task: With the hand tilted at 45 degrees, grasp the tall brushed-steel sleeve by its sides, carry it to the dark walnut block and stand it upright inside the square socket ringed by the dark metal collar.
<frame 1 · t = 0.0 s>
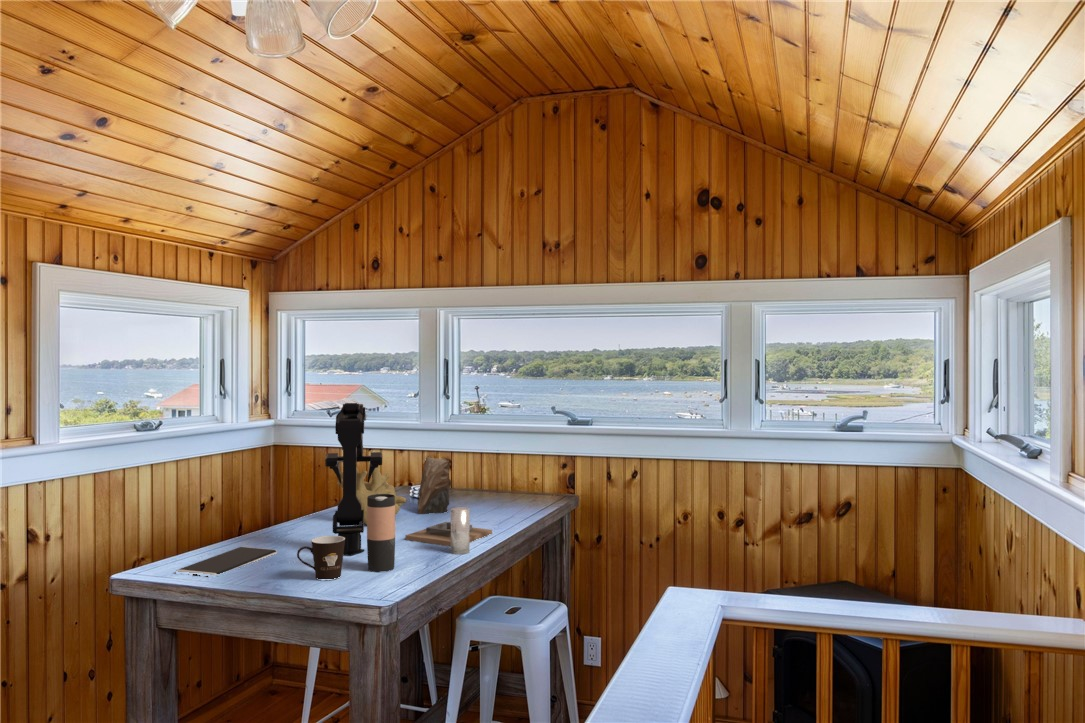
hand: (354, 482, 263), 15 cm above the table, tool pointing down, fingers open, 9 cm apart
decorative coral: (374, 520, 276), on the table
steel sleeve: (460, 552, 230), on the table
brown carved rock: (430, 511, 292), on the table
coffee mug: (322, 578, 203), on the table
travel mug: (381, 569, 212), on the table
dark rectangular slab: (228, 565, 217), on the table
pillow block: (449, 537, 249), on the table
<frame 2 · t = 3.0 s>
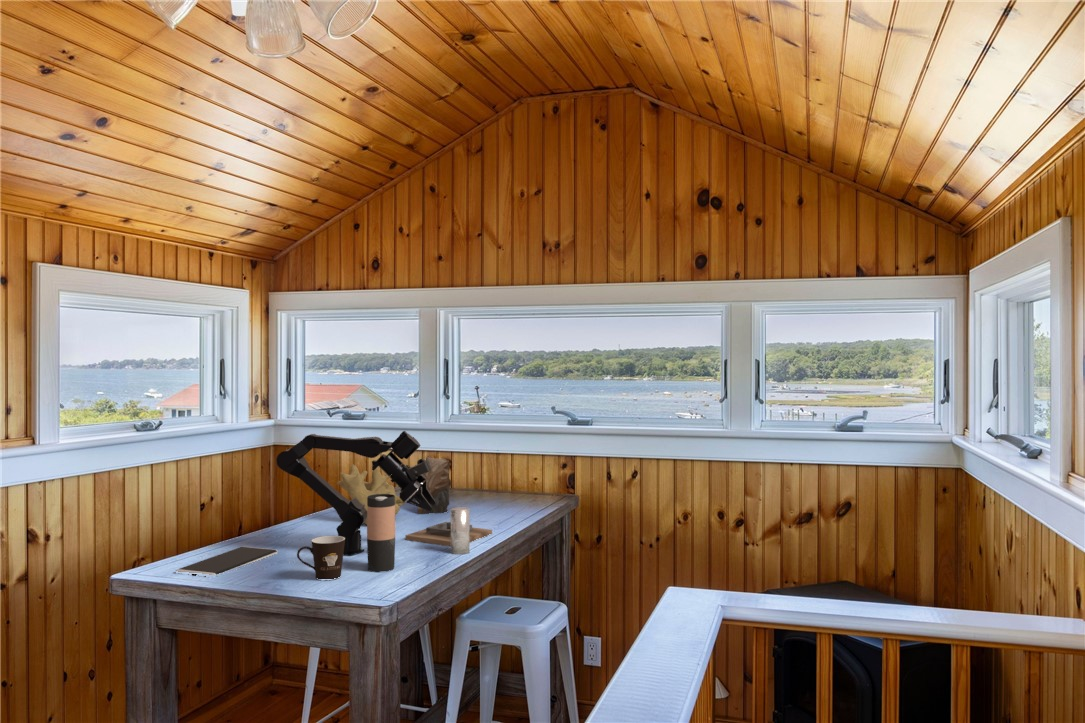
hand: (433, 506, 230), 14 cm above the table, tool tilted 45°, fingers open, 9 cm apart
nothing on the table moved.
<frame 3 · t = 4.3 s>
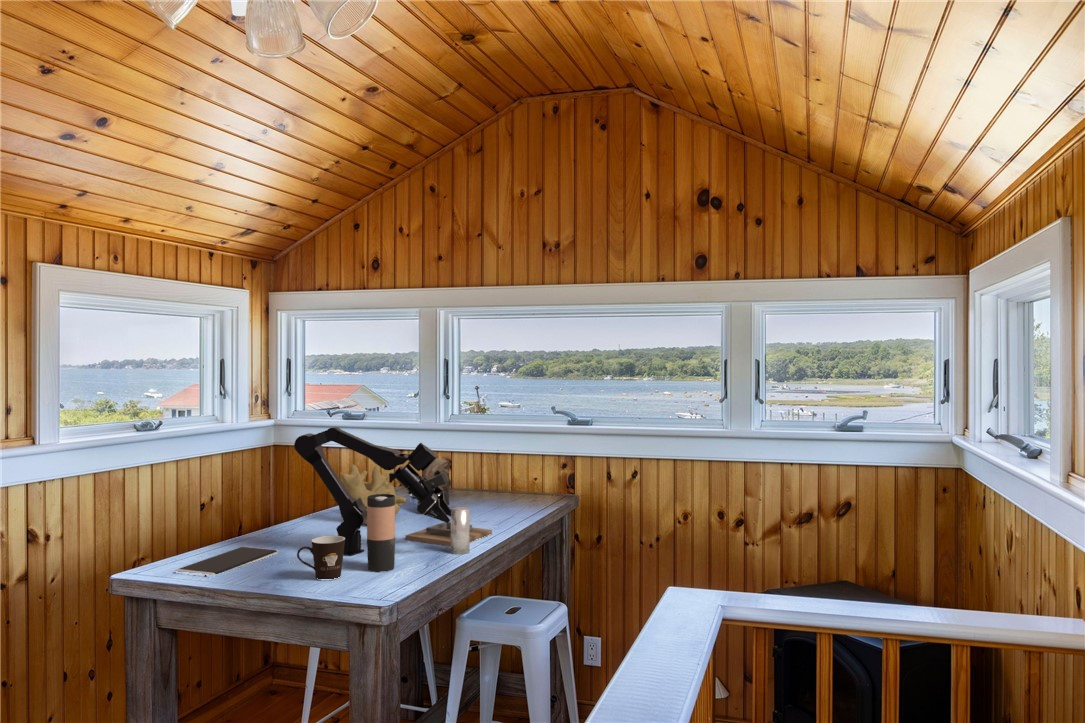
hand: (450, 518, 230), 10 cm above the table, tool tilted 45°, fingers open, 9 cm apart
nothing on the table moved.
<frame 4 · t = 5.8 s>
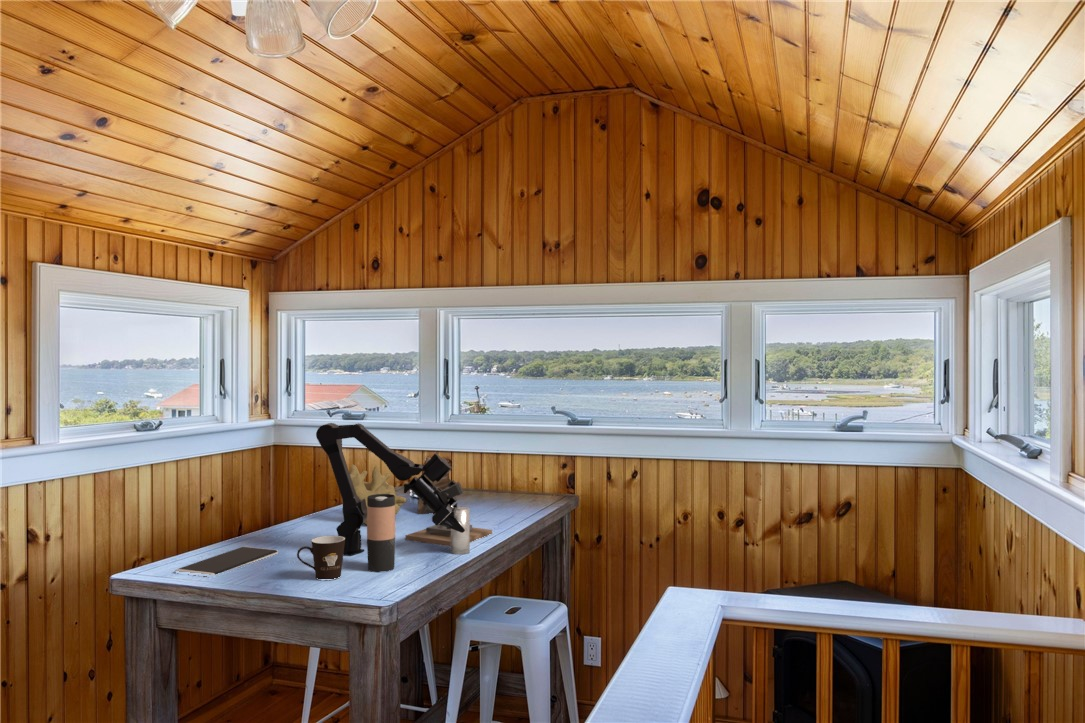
hand: (464, 529, 230), 7 cm above the table, tool tilted 45°, fingers closed on steel sleeve, 6 cm apart
steel sleeve: (460, 552, 230), on the table, touching gripper
everything else where it was.
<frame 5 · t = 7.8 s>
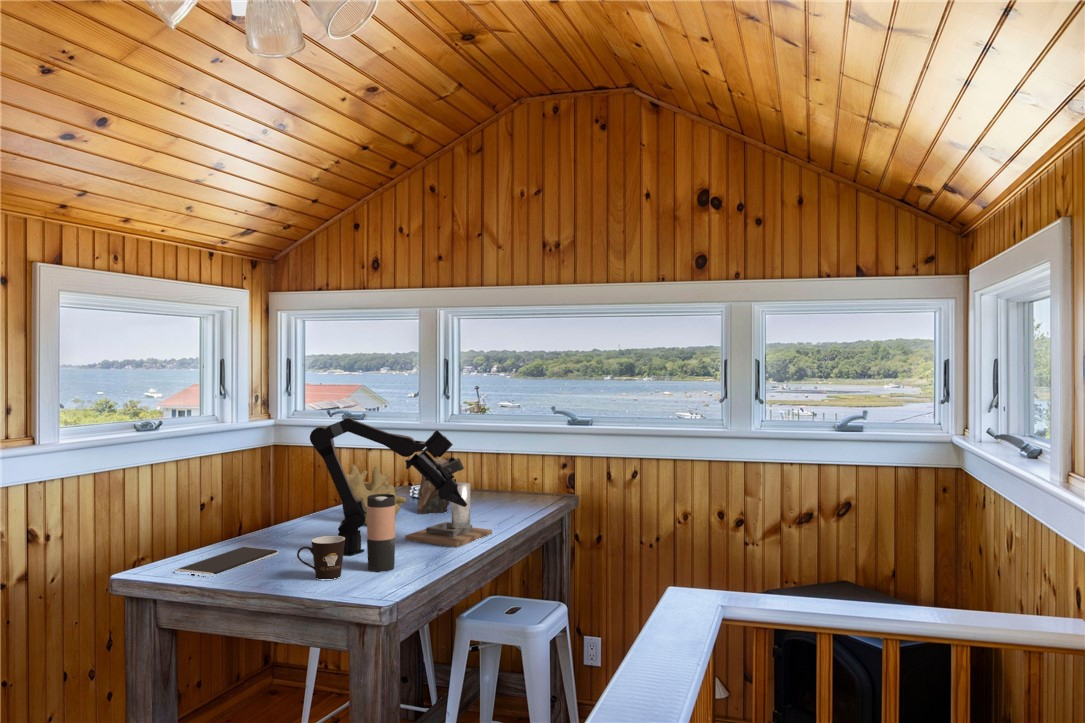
hand: (465, 504, 235), 13 cm above the table, tool tilted 45°, fingers closed on steel sleeve, 6 cm apart
steel sleeve: (460, 526, 235), point 7 cm above the table, touching gripper
everything else where it was.
when the fingers open (11 cm above the table, at t = 9.9 s): steel sleeve drops 3 cm, resting on pillow block.
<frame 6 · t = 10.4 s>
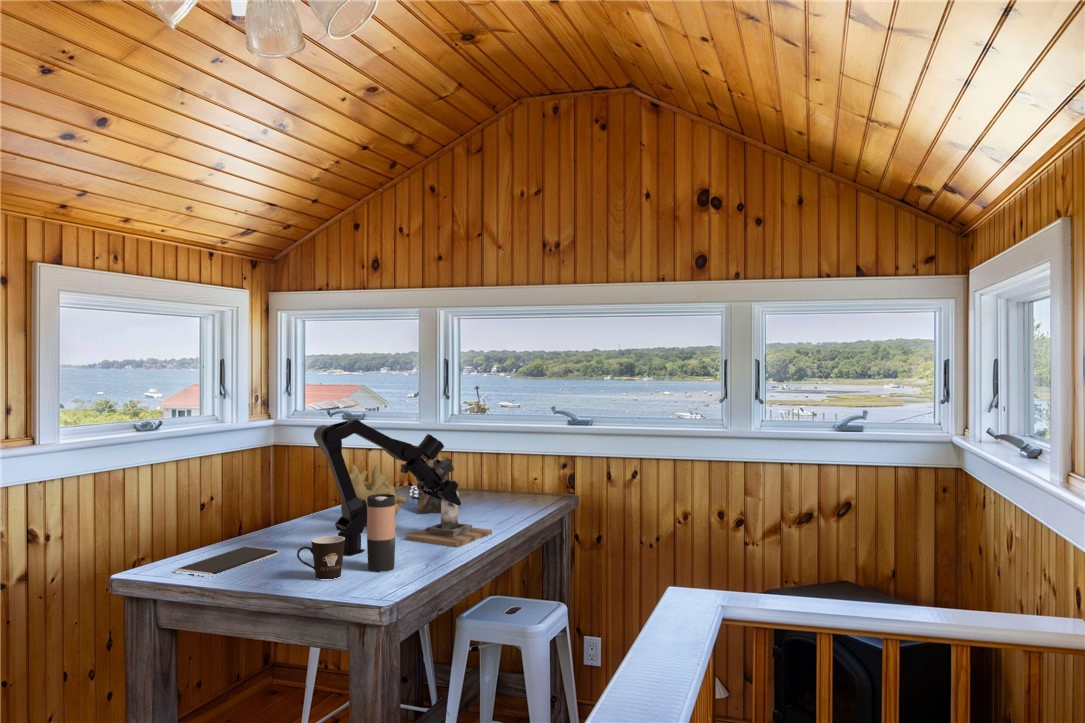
hand: (453, 502, 250), 11 cm above the table, tool tilted 45°, fingers open, 9 cm apart
steel sleeve: (449, 532, 249), point 2 cm above the table, touching pillow block
everything else where it was.
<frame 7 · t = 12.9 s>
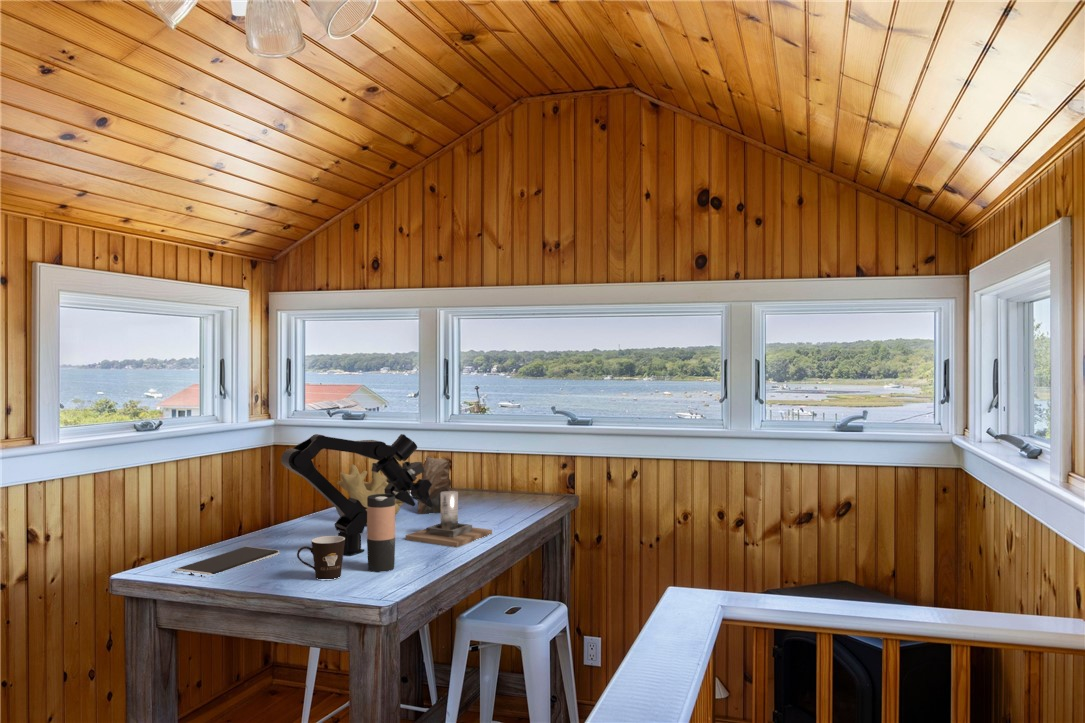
hand: (422, 505, 245), 11 cm above the table, tool tilted 40°, fingers open, 9 cm apart
nothing on the table moved.
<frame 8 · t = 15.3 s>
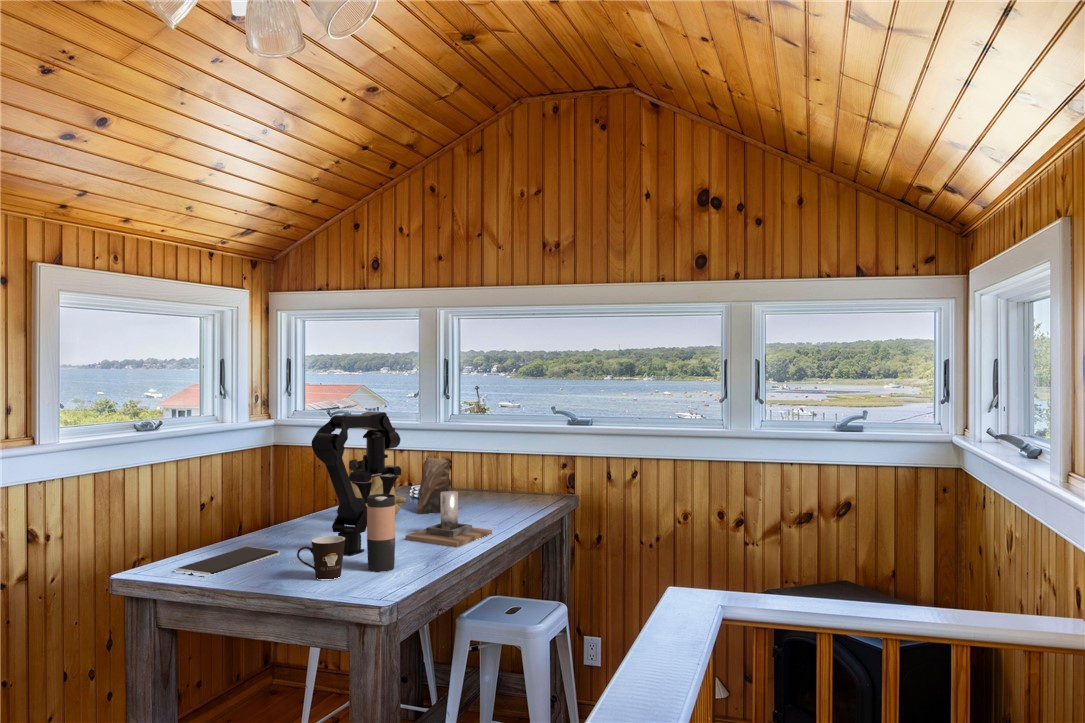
hand: (375, 500, 242), 13 cm above the table, tool pointing down, fingers open, 9 cm apart
nothing on the table moved.
at the end: steel sleeve 0.1 cm off-centre on the pillow block, point 1.5 cm above the pillow block's base; steel sleeve tilted 0°; the gripper is holding nothing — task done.
